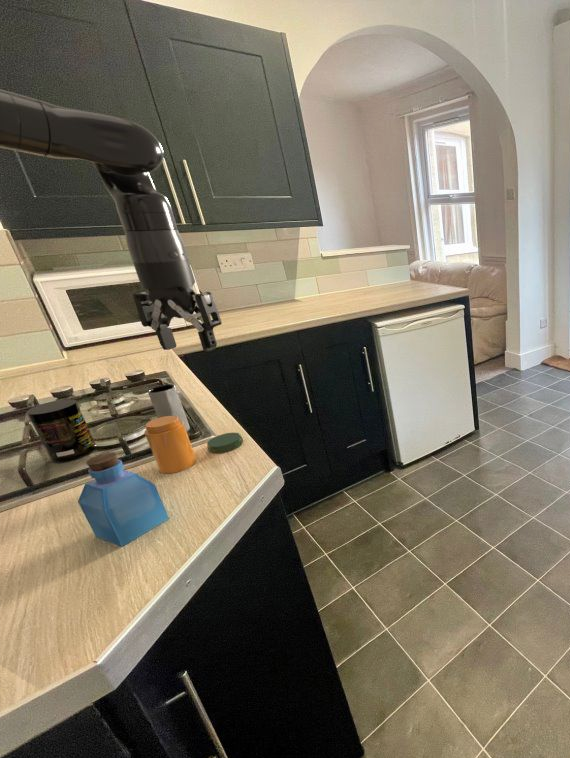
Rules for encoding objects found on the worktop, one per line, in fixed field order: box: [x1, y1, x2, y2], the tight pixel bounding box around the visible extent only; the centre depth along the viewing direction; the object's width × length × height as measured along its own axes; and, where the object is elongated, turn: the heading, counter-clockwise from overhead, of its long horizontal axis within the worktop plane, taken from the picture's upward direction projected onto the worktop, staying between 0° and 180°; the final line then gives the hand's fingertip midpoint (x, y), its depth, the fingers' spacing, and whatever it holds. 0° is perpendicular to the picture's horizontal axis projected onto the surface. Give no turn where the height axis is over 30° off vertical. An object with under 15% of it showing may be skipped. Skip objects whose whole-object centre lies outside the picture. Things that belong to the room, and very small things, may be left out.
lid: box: [206, 432, 244, 454], centre depth 84 cm, size 6×6×2 cm
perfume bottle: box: [77, 451, 170, 548], centre depth 60 cm, size 6×6×12 cm
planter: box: [147, 383, 191, 432], centre depth 89 cm, size 4×4×10 cm
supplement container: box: [26, 398, 97, 463], centre depth 81 cm, size 7×7×10 cm
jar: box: [143, 416, 197, 474], centre depth 77 cm, size 6×6×9 cm
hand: (190, 349), depth 77 cm, fingers open, 8 cm apart
